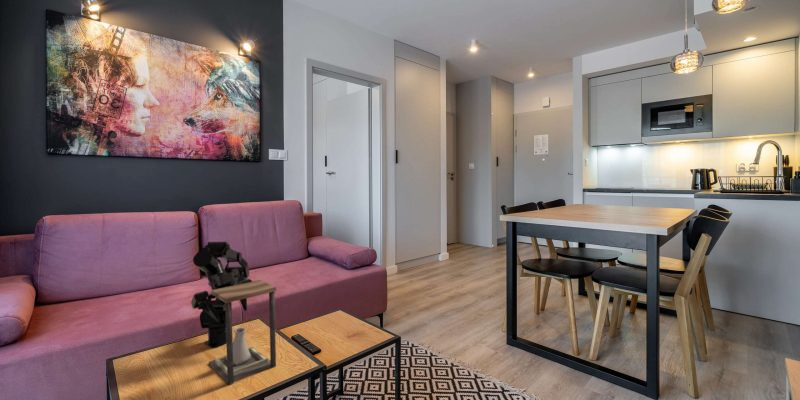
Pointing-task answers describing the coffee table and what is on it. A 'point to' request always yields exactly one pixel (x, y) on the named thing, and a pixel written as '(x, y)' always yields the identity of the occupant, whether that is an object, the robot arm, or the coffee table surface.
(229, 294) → the wooden top side table
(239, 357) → the flask
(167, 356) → the coffee table surface
